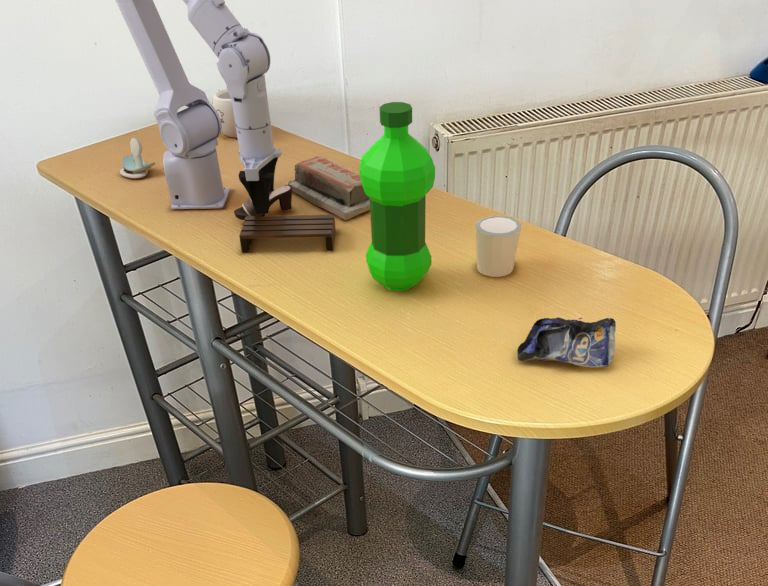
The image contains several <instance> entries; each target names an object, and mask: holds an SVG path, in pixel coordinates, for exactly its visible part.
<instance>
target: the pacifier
mask: <svg viewBox="0 0 768 586" xmlns="http://www.w3.org/2000/svg"><path fill="white" fill-rule="evenodd" d="M129 150H130V153H131V154H127V155H125V156H124V157H123V158H122V160H121V164H122V168H121V169H120V170H119V173H120V175H121V176H122V177H125V178H127V179H142V178H145V176H147V174H148V173H149V171H148V169H150V168H152V167H153V166H155V165H156V162H154V161H153V162H151V163H146V161H145V160H144V159H143V157H142V153H143V145H142V142H141V141H140V140H139V139H138V138H136V137H132V138H131V139H130V141H129ZM128 171H129V172H132V173H128Z"/></svg>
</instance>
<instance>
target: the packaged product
mask: <svg viewBox="0 0 768 586" xmlns="http://www.w3.org/2000/svg"><path fill="white" fill-rule="evenodd" d="M287 185H291V186H292V193H295V194H297V195H299V196H300V197H301V198H303V199H305V200H307V201H309V203H311V204H313V205H314V206H316V207H319V208H321V209H324V210H326V211H328V212H330V213H331V214H332V215H334V216H337V217H338V218H340V219H343V220H344V221H348V220H350V219H351V218H354V217H356V216H359V215H361V214H363V213H365V212H368V211H370V198H369V197H368V196H367V195H366V194H365V191H364V189H363V186H362V183H361V179H360V174H358V173H356V172H354V171H352V170H350V169H348V168H346V167H344V166H342V165H340V164H339V163H336V162H334V161H333V160H330V159H329V158H327V157H323V156H319V155H318V156H314V157H311V158H308V159H305V160H303V161H300V162H297V163H296V164H294V180H289V181H288V182H287Z"/></svg>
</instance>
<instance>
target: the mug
mask: <svg viewBox="0 0 768 586" xmlns="http://www.w3.org/2000/svg"><path fill="white" fill-rule="evenodd" d="M212 106H213V107H214V108H215V110H216V111H217V113H218V115H219V117H220V120H221V125H222V130H221V134H223V135H224V136H226V137H227V138H228V137H229V138H235V139H237V132H236V126H235V120H234V113H233V107H232V101H231V96H230V95H229V92H227V88H225V89H220V90H218V91H217V92H215V93H214V94H213V96H212Z"/></svg>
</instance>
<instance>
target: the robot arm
mask: <svg viewBox="0 0 768 586" xmlns="http://www.w3.org/2000/svg"><path fill="white" fill-rule="evenodd" d="M182 2H183V3H184V4H185V5H186V7H187V19H188V21H189V22H190V24H191V25H192V26H193V28H194V29H195V30H196V31H197V33H198V34H199V35H200V37H201V38H202V39H203V40H204V42H205V43H206V44H207V46H208V47H209V48H210V50H211V51H212V52H213V53H214V55H215V56H216V57H217V59H218V61H217V62H216V67H217V69H218V72H219V74H220V76H221V78H222V79H223V81H224V83H225V85H226V89H227V92H229V95H230V96H231V101H232V107H233V113H234V120H235V126H236V132H237V138H236V139H237V144H238V145H237V146H238V150H239V151H238V158H239V160H240V162H241V164H242V165H243V168H244V170H240V171H239V172H238V180H239V183H241V184H242V185H243V187H244V189H245V190H246V192H247V194H248V196H249V198H250V199H251V201H252V204H253V206H254V209H255V211H256V213H257V214H265V215H268V214H269V212H270V208H269V193H270V192H271V191H273V190H275V189H274V188H275V172H276V167H277V163H278V160H279V158H281V157H282V154H283V153H282V149H281V148H275V145H274V138H273V131H272V123H271V122H272V121H271V115H270V114H271V113H270V107H269V99H268V92H267V91H268V90H267V83H266V82H267V81H266V76H265V74H266V73H268V71H269V70H270V68H271V54H270V50H269V47H268V46H267V45H266V43H265V41H264V38H263V37H262V36H260V35H259V34H257V33H255V32H251V31H250V30H249V28H245V27H243V26H242V24H241V23H240V22H239V20H238V19H237V18H236V17H235V15H234V14H233V13H232V11H231V10H230V9H229V7H228V6H227V5H226V1H225V0H182ZM115 3H116V4H117V7H118V8H119V11H120V13H121V15H122V18H123V19H124V22H125V24H126V26H127V28H128V30H129V32H130V35H131V37H132V39H133V42H134V43H135V45H136V48H137V50H138V52H139V54H140V57H141V59H142V60H143V63H144V65H145V67H146V69H147V71H148V74H149V76H150V78H151V80H152V82H153V84H154V86H155V89H156V91H157V93H158V95H159V99H158V101H157V104H156V106H155V109H154V113H153V116H154V119H155V120H156V122H157V126H158V129H159V136H160V138H161V141H162V143H163V145H164V146H165V148H166V149H167V150H165V151H164V153H163V157H162V164H163V165H162V167H163V172H164V177H165V181H166V185H167V190H168V194H169V200H170V203H171V205H170V208H171V210H204V209H205V210H206V209H208V210H210V209H212V210H213V209H223V208H224V207H225V204H226V202H227V199H228V196H229V194H230V192H231V189H230V187H224V185H223V179H222V174H221V168H220V163H219V162H220V161H219V157H218V151H217V146H218V145H219V141H218V138H219V137H220V136H221V134H222V132H221V130H222V125H221V120H220V117H219V115H218V113H217V111H216V110H215V108H214V107H213V104H212V103H211V102H210V100H209V98H208V97H207V94H206V92H205V91H204V90H203V89H201V88H199V87H196V86H195V85H193V84H192V83H190V81H189V78H188V76H187V75H186V72H185V70H184V68H183V65H182V63H181V61H180V59H179V56H178V53H177V51H176V49H175V47H174V45H173V43H172V40H171V38H170V35H169V34H168V31H167V29H166V26H165V24H164V22H163V20H162V17H161V15H160V13H159V11H158V8H157V6H156V4H155V2H154V0H115ZM182 107H186V108H184V109H182V110H180V109H181V108H182ZM179 110H180V111H179Z"/></svg>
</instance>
